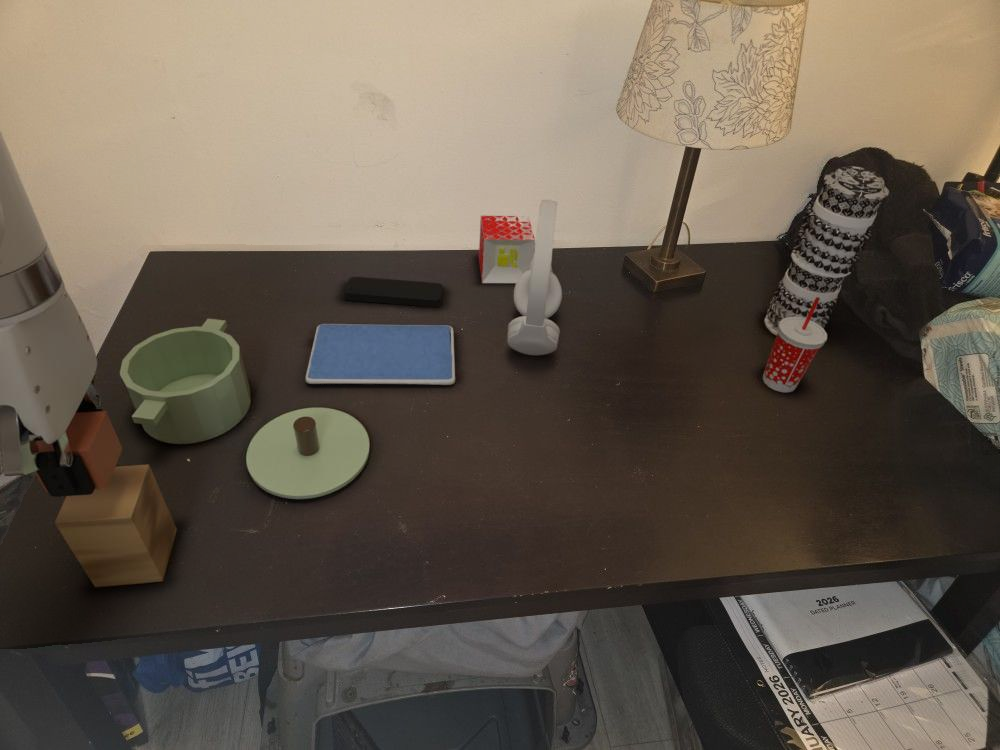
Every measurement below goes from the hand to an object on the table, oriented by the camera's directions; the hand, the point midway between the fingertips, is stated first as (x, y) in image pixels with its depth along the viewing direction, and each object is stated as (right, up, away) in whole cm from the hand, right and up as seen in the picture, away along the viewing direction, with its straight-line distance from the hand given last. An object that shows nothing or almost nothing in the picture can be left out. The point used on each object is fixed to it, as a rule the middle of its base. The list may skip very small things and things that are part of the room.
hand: (84, 466), depth 54 cm
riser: (-1, -10, +10) cm, 14 cm away
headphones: (+39, +13, +41) cm, 59 cm away
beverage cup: (+74, +7, +37) cm, 83 cm away
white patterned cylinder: (+80, +15, +47) cm, 94 cm away
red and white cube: (+35, +25, +54) cm, 69 cm away
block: (0, 0, 0) cm, 0 cm away
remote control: (+18, +20, +47) cm, 54 cm away
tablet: (+19, +10, +35) cm, 41 cm away
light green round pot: (-3, +4, +26) cm, 26 cm away
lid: (+13, -1, +20) cm, 24 cm away
